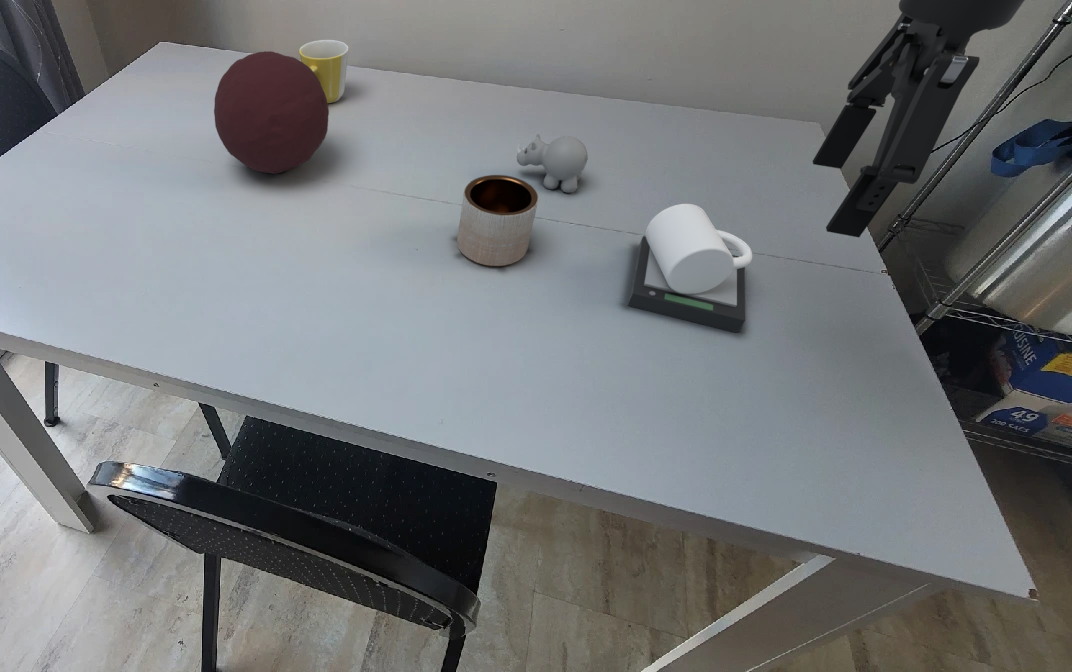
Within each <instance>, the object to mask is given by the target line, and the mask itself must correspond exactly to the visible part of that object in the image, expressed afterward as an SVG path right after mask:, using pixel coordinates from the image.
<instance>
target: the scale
mask: <svg viewBox="0 0 1072 672" xmlns="http://www.w3.org/2000/svg"><path fill="white" fill-rule="evenodd" d="M731 255H732V256H733V258H737V257H740V256H739V255H735V254H731ZM634 262H635V263H634V268H633V274H632V280H631V285H630V291H629V296H628V301H627V306H628V307H632V308H635V309H639V310H643V311H647V312H652V313H656V314H658V315H659V314H660V315H664V316H668V317H671V318H676V319H680V320H684V321H688V322H691V323H696V324H700V325H704V326H707V327H712V328H715V329H720V330H723V331H728V332H732V333H736V334H737V333H739V332H740V330H741V329H742V327H743V325H744V324H745V322H746V266H745V267H743V268H739V269H732V271H731V273H730V274H729V276H728V277H727V278H726V279H725V280H724V281H723V282H722V283H720V284H719V285H717V286H716V287H714V288H712V289H710V290H707V291H705V292H701V293H696V294H683V293H679V292H676V291H674V290H673V289H671V288H670V286H669V285H668V283H667V281H666V279H665V277H664V275H663V273H662V271H661V269H660V266H659V264H658V262H657V260H656V258H655V256H654V254H653V252H652V250H651V248H650V246H649V244H648V242H647V239H646V235H643V236H642V237H641V240H640V242H639V245H638V248H637V252H636V258H635V261H634Z"/></svg>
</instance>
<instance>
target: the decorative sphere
mask: <svg viewBox="0 0 1072 672" xmlns="http://www.w3.org/2000/svg"><path fill="white" fill-rule="evenodd" d="M213 114H214V126H215V130H216V132H217V134H218V137H219V139H220V141H221V143H222V145H223V146H224V148H225V149H226V151H227V152H228V154H230V155H231V156H232V157H233V158H234V159H236V160H237V161H238V162H240V163H242V164H243V165H244V166H245V167H247V168H250V169H252V170H254V171H256V172H259V173H267V174H274V175H275V174H276V175H277V174H279V173H280V174H281V173H285V172H288V171H289V170H293V169H294V168H296V167H298V166H300V165H302V164H304V163H306V162H307V161H309V160H310V159H311V158H312V157H313V155H314V154H315V152H316V151H317V150H318V149H319V148H320V146H321V144H322V143H323V141H324V140H325V138H326V137H327V134H328V129H329V128H328V127H329V116H330V110H329V103H327V99H326V95H325V93H324V91H323V89H322V86H321V84H320V81H319V79H318V78H317V76H316V75H315V73H314V72H313V71H312V69H311V68H309V67H308V66H307V65H305V64H304V63H303V62H301V60H300V59H298V58H296V57H294V56H289V55H285V54H281V53H280V52H275V51H271V50H270V51H269V50H267V51H258V52H255V53H250V54H248V55H246V56H244V57H242V58H239V59H237V60H235V62H233V63H232V64H231V65H230V66H229V68H228V69H227V71H226V72H225V73H224V74H223V75H222V77H221V78H220V80H219V83H218V85H217V89H216V92H215V95H214V108H213Z"/></svg>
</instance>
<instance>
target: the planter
mask: <svg viewBox="0 0 1072 672" xmlns="http://www.w3.org/2000/svg"><path fill="white" fill-rule="evenodd" d="M462 196H463V197H462V204H461V211H460V218H459V223H458V231H457V237H456V239H457V241H456V242H457V247H458V250H459V251H460V253H462V254H463V255H464V256H465V257H466V258H467V259H469V260H471V261H473V262H475V263H477V264H480V265H484V266H490V267H502V266H507V265H512V264H515V263H517V262H518V261H520V260H521V259H523V257H524V256H525V255H526V254H527V251H528V249H529V245H530V240H531V235H532V231H533V226H534V221H535V217H536V212H537V208H538V203H539V194H538V192H537V190H536V189H535V187H533V186H532V184H530V183H528V182H527V181H525V180H522V179H520V178H518V177H514V176H510V175H506V174H505V175H504V174H489V175H483V176H479V177H477V178H475V179H472V180H471V181H469V182H468V183H467V184H466V186H465V187H464V190H463V195H462Z"/></svg>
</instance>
